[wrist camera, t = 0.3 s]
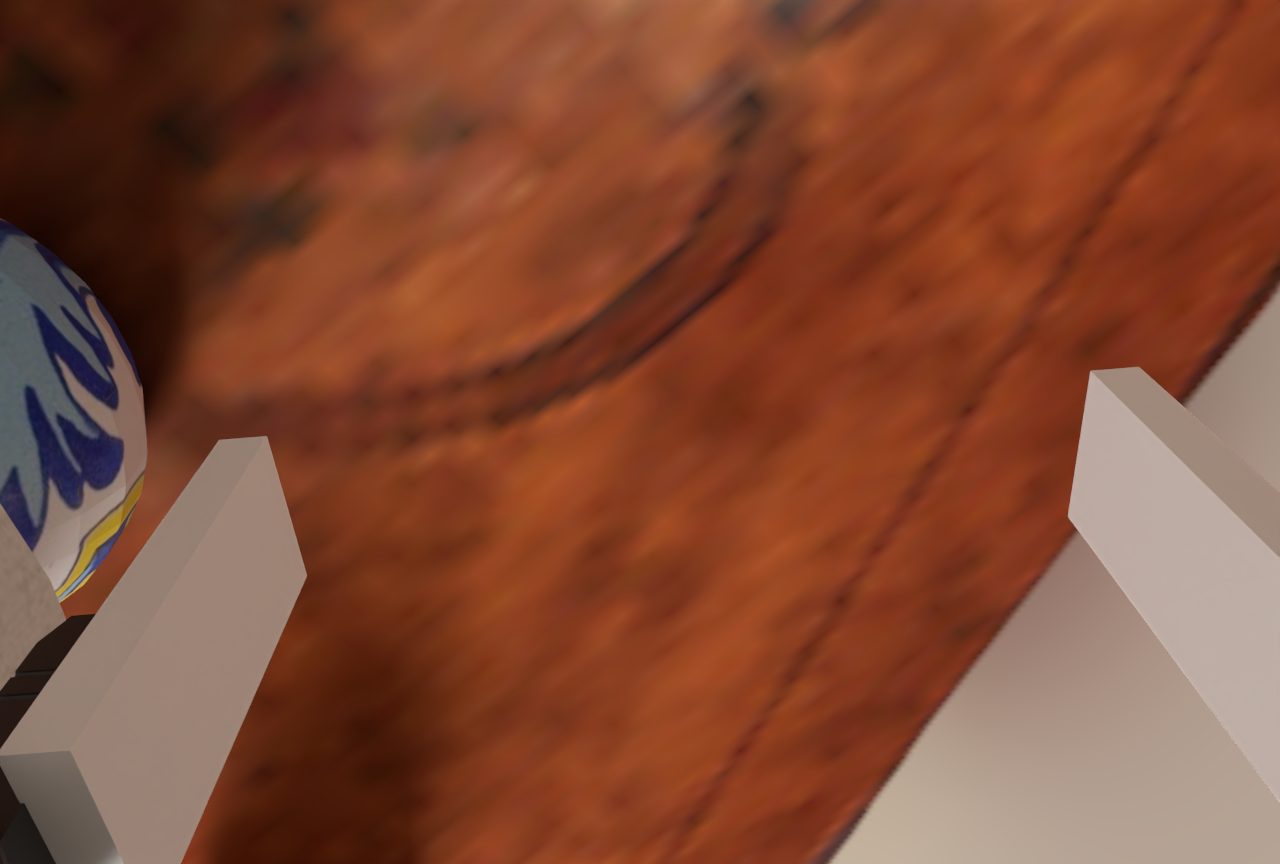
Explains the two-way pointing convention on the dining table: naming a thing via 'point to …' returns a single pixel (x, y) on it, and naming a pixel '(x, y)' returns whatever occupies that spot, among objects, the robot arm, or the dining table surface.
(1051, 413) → the dining table surface
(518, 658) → the dining table surface
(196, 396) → the dining table surface
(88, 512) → the table lamp
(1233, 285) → the dining table surface
